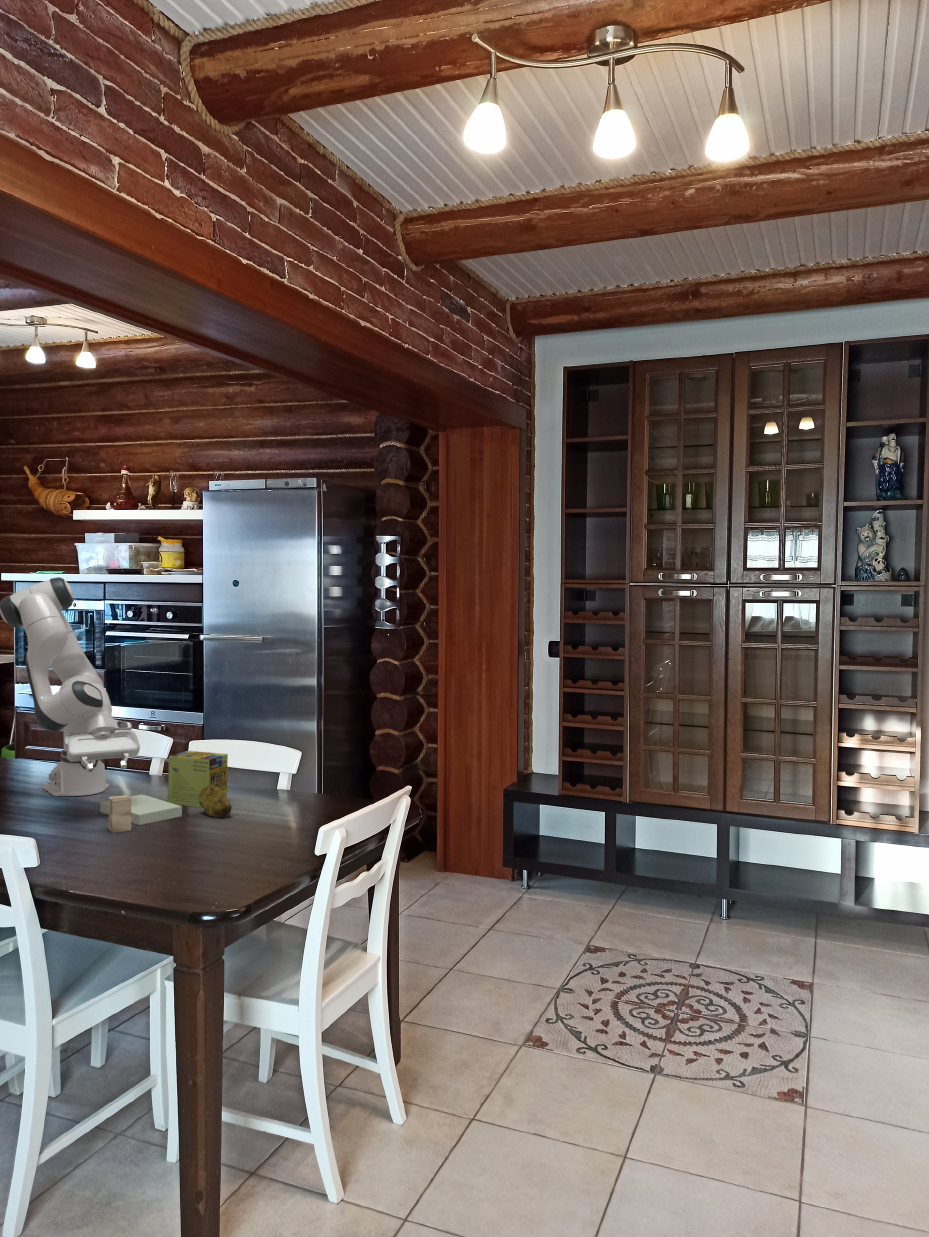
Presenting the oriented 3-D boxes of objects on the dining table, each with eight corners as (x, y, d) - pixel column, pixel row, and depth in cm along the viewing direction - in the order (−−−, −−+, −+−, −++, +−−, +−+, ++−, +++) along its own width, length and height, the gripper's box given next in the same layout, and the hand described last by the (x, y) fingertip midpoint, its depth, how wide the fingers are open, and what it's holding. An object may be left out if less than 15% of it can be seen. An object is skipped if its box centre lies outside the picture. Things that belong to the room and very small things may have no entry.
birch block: (108, 828, 258) (108, 797, 258) (126, 826, 261) (126, 795, 261) (112, 832, 254) (112, 800, 254) (131, 830, 257) (131, 798, 257)
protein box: (209, 808, 282) (209, 759, 282) (167, 804, 287) (167, 755, 287) (228, 801, 292) (228, 753, 292) (187, 797, 297) (188, 749, 297)
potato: (204, 820, 268) (205, 794, 268) (196, 810, 280) (196, 785, 279) (233, 818, 272) (233, 791, 272) (223, 808, 283) (224, 782, 283)
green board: (100, 811, 276) (100, 802, 276) (142, 803, 287) (142, 794, 287) (139, 825, 262) (139, 814, 262) (181, 816, 273) (181, 806, 273)
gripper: (64, 727, 267) (70, 766, 259) (136, 722, 278) (144, 759, 270) (61, 740, 271) (67, 778, 263) (132, 734, 282) (140, 771, 274)
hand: (107, 769), depth 267 cm, fingers open, 8 cm apart
